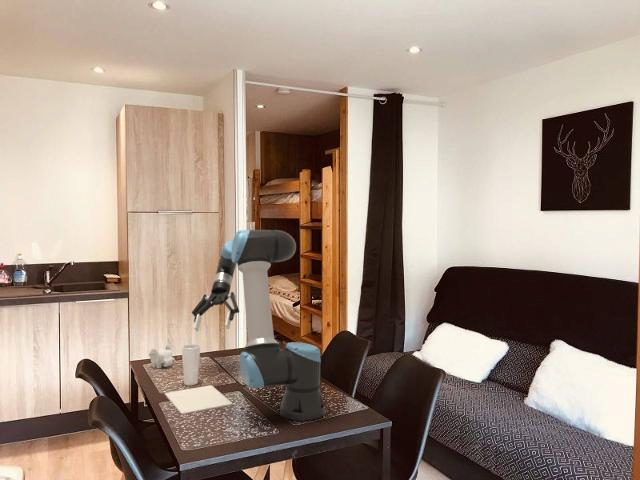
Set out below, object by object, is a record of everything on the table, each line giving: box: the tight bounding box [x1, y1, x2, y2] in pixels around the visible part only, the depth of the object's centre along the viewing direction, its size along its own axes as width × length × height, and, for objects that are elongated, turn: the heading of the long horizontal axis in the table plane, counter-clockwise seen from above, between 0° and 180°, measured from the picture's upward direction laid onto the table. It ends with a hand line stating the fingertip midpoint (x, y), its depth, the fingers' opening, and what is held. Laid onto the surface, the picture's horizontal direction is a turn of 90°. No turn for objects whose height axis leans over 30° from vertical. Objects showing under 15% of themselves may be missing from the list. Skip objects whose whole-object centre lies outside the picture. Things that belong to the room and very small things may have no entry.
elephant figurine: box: [148, 344, 176, 369], centre depth 218 cm, size 10×12×9 cm
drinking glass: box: [181, 343, 201, 387], centre depth 196 cm, size 7×7×15 cm
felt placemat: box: [164, 385, 233, 416], centre depth 180 cm, size 22×18×1 cm
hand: (211, 328), depth 199 cm, fingers open, 13 cm apart
